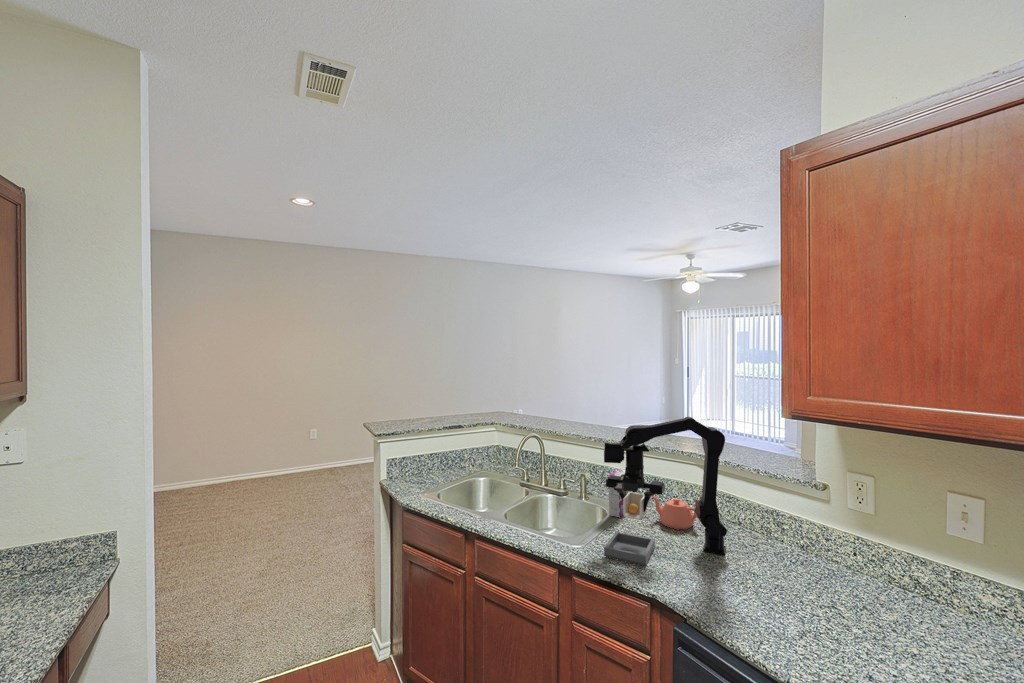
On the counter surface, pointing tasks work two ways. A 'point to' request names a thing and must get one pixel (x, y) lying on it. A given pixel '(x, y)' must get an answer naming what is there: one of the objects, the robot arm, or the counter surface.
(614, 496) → the candy bar box
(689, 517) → the teapot
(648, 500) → the robot arm
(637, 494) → the white open holder
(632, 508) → the ball
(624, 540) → the tray
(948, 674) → the counter surface
